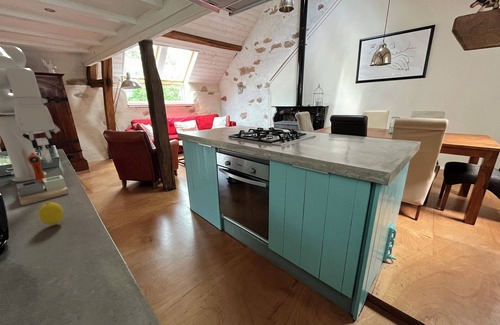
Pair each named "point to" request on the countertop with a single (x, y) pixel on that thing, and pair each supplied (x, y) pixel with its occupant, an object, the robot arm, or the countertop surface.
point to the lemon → (51, 213)
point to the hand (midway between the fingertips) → (43, 148)
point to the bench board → (43, 195)
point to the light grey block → (44, 149)
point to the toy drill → (36, 166)
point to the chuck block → (30, 188)
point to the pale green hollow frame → (54, 183)
